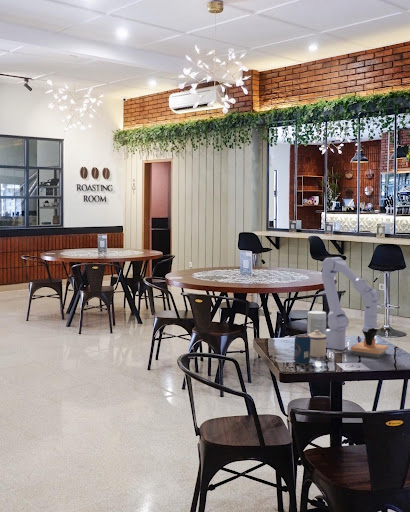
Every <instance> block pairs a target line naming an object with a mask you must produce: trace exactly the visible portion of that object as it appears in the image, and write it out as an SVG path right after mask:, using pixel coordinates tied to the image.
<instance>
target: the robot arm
mask: <svg viewBox="0 0 410 512" xmlns="http://www.w3.org/2000/svg"><path fill="white" fill-rule="evenodd" d="M321 268H322V270H321V281H322V283H323V288H324V292H325V297H326V300H327V301H326V302H327V304H328V308H329V312H328V314H327V326H328V328H326V332H325V335H326V337H327V338H326V348H327V349H333V350H338V351H339V350H341V351H343V350H346V349H348V347H349V346H347V345H346V330H347V327H348V326H349V323H350V321H349V317H348V316H347V315H346V312H345V311H344V310H343V309H342V307H341V303H340V302H341V301H340V298H339V294H338V290H337V286H336V282H335V276H336V274H337V273H341V274H343V275H344V276H345V277H346V278H347V279H348V280H349V281H350V282H352V287H353V288H354V289H355V290H356V292H358V293H359V294H360V296H361V297H362V300H363V302H364V303H363V304H364V308H363V309H364V310H363V311H364V312H363V313H364V314H363V325H362V327H363V328H362V333H363V336H364V338H365V340H366V345H371V344H372V339H375V337H376V334H377V333H378V331H379V330H378V328H380V325H378V323H377V320H378V301H379V300H380V299H381V294H380V292H379V291H378V290H377V289H374V288H373V287H372V286H370V285H369V284H368V283H367V282H366V281H367V280H366V279H365V278H361V277H358V276H357V275H356V274H355V273H354V271H353V270H352V269H351V268H350V267H349V265H348V264H347V261H345V260H344V259H343V258H342V257H340V256H335V257H326V258H324V260H323V261H322V262H321Z"/></svg>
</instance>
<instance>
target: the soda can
mask: <svg viewBox="0 0 410 512" xmlns="http://www.w3.org/2000/svg"><path fill="white" fill-rule="evenodd" d="M310 347H311V340H310V337H309V335H307V334H296V335H295V338H294V348H293V349H294V350H293V351H294V352H293V354H294V355H293V356H294V357H293V360H294V363H295V364H298V365H309V363H310V362H311V356H310Z"/></svg>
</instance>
